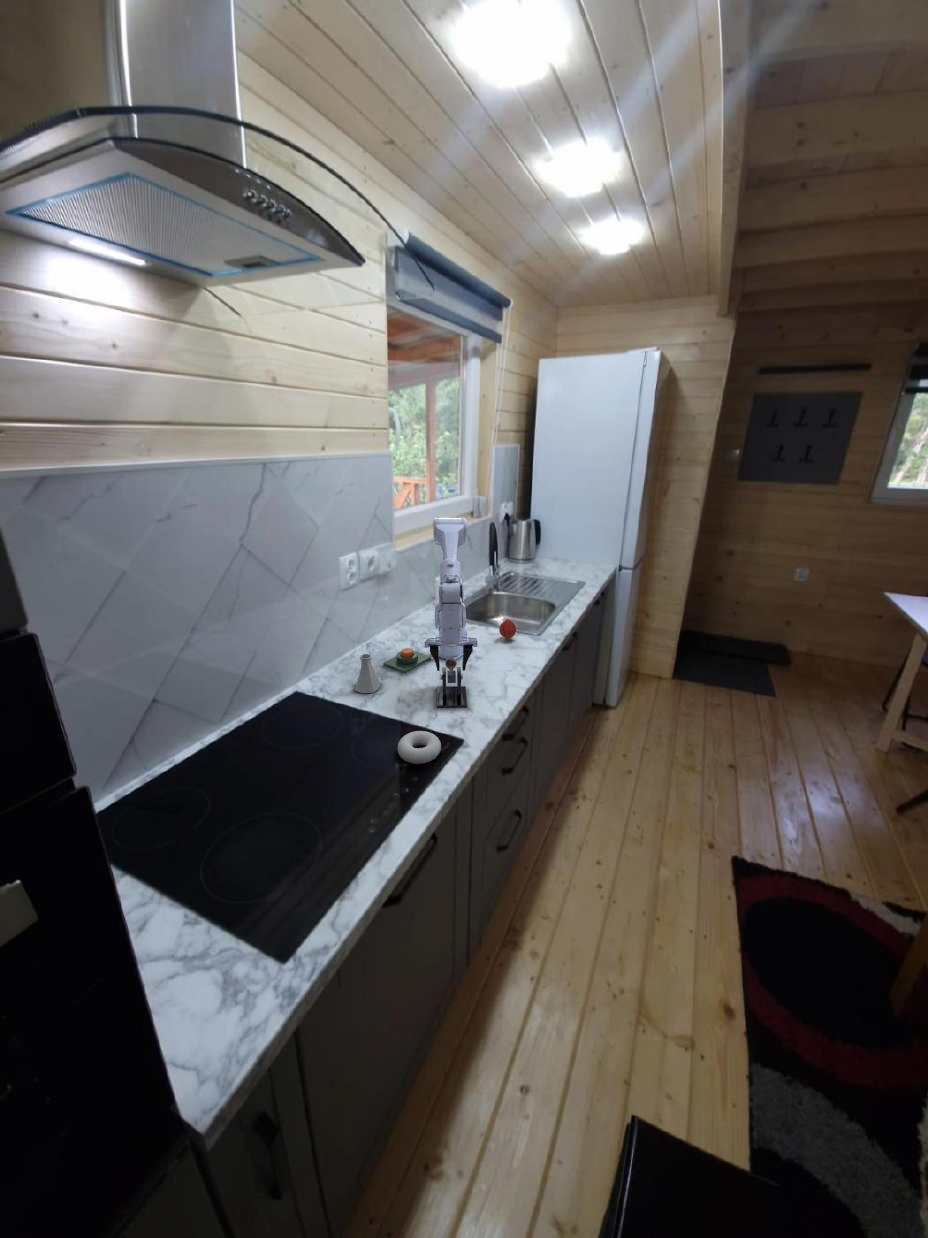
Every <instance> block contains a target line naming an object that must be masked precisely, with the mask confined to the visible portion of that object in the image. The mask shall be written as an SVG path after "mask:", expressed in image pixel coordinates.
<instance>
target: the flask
mask: <svg viewBox="0 0 928 1238" xmlns="http://www.w3.org/2000/svg"><path fill="white" fill-rule="evenodd" d="M371 659H372V654H370V653H362V654H360V655H359V660H360V664H361V665H360V671H359V674H358V678H357V681H356V683H355V688H354V689H355V690H354V691H355V692H358V693H360V694H371V693H375V692H377V691H378V690H380V689H381V681H380V680H379V677H378V676H377V674H376V672H375V669H374V667H373V665H372V660H371Z"/></svg>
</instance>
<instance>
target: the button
mask: <svg viewBox="0 0 928 1238" xmlns="http://www.w3.org/2000/svg"><path fill="white" fill-rule="evenodd" d="M400 651H401V656H402V657H404V658H409V657H412V656H413V651H414V650H413V648H410V647H406V648H402V649H401V650H400Z"/></svg>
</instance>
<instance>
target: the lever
mask: <svg viewBox="0 0 928 1238" xmlns="http://www.w3.org/2000/svg"><path fill="white" fill-rule="evenodd" d="M444 665H445V667H446V669H448V670H446V680H447V684H457V670H455V669H456V668H457V659H456V660H455V659H453V658H449V659H445V663H444Z"/></svg>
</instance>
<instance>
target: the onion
mask: <svg viewBox="0 0 928 1238" xmlns="http://www.w3.org/2000/svg"><path fill="white" fill-rule="evenodd" d="M498 630H499V634H500V636H501V637H503V638H504V639H505V640H507V641H509V640H510V639H512V638H513V637H514V636H515V635H516V633H517V627H516V625H515V623H514V622H513V621H512V620H510V618H506V619H505V620H503V622H501V624H500V625H499V628H498Z"/></svg>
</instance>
